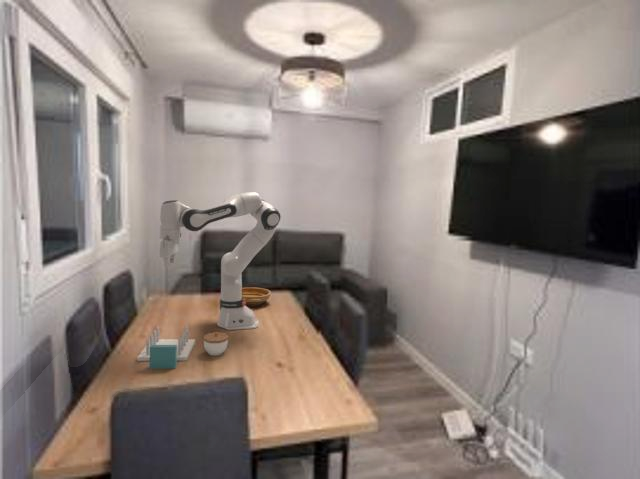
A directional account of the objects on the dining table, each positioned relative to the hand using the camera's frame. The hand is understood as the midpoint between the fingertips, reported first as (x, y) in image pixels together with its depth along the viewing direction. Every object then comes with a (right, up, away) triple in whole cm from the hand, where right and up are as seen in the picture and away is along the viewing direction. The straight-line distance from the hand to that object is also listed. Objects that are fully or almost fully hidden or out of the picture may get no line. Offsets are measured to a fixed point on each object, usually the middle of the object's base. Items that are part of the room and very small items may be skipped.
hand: (169, 264), depth 182 cm
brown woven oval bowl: (+27, -31, +71) cm, 81 cm away
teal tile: (+7, -41, -24) cm, 48 cm away
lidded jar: (+24, -40, -8) cm, 47 cm away
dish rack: (+3, -38, -9) cm, 40 cm away
